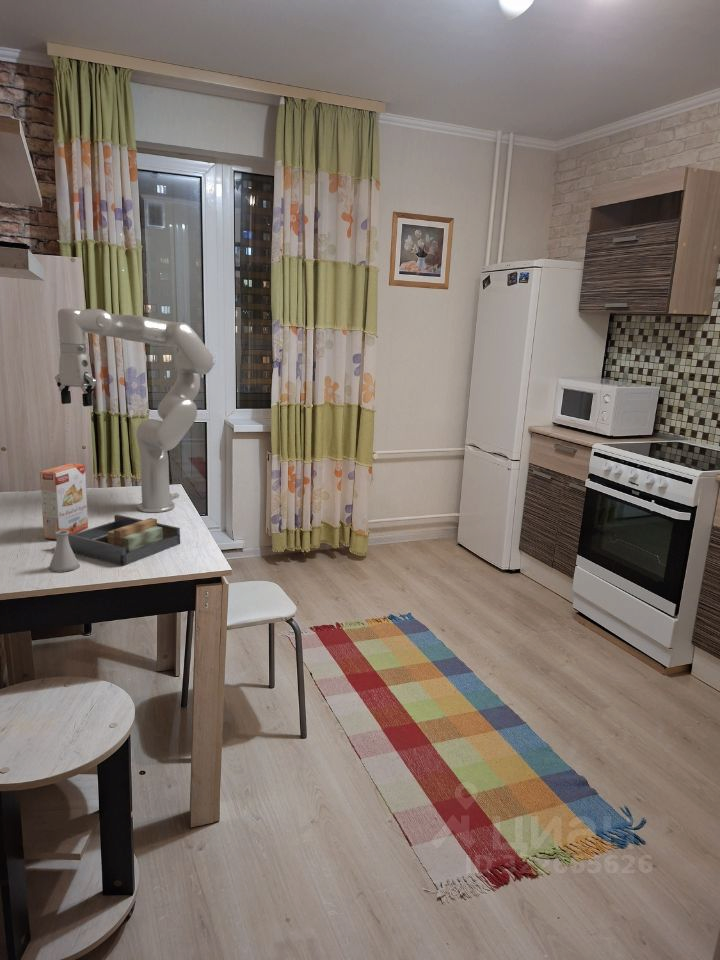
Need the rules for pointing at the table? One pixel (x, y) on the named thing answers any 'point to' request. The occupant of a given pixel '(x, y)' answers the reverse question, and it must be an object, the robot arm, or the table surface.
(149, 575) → the table surface
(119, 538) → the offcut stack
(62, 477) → the cracker box
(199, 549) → the table surface
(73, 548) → the tray
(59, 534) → the flask
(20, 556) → the table surface
